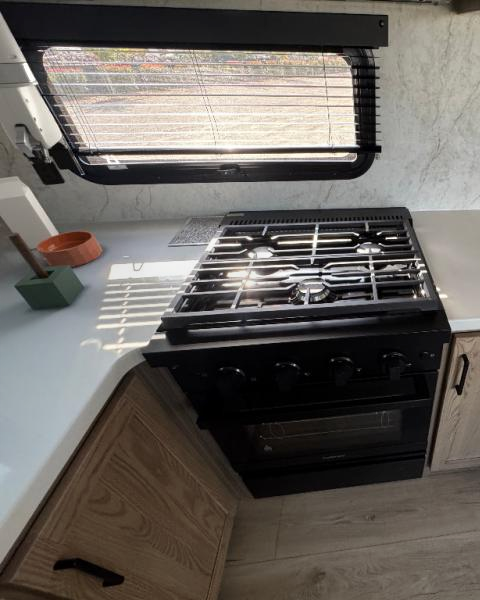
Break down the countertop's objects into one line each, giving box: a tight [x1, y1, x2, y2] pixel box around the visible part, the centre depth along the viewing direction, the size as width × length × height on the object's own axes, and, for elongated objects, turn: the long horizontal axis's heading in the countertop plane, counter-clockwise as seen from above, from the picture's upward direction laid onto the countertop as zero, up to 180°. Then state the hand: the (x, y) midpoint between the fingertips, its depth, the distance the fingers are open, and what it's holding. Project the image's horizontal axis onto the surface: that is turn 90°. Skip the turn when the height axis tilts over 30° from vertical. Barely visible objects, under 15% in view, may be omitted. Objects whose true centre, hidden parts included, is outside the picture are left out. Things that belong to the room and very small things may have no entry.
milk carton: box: [0, 175, 60, 250], centre depth 96 cm, size 7×7×19 cm
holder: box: [13, 265, 85, 311], centre depth 79 cm, size 7×7×7 cm
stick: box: [6, 232, 49, 279], centre depth 76 cm, size 2×2×17 cm
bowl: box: [35, 230, 103, 268], centre depth 94 cm, size 12×12×6 cm
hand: (62, 176), depth 70 cm, fingers open, 9 cm apart
